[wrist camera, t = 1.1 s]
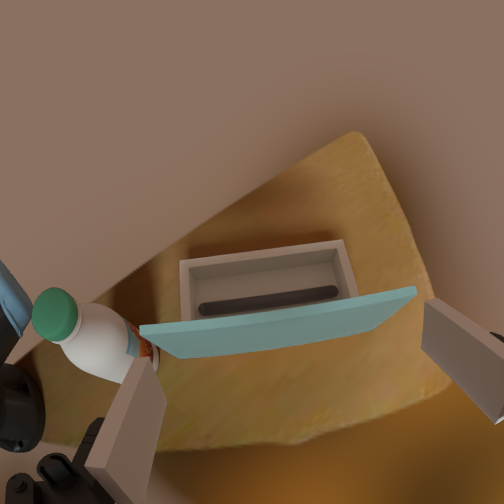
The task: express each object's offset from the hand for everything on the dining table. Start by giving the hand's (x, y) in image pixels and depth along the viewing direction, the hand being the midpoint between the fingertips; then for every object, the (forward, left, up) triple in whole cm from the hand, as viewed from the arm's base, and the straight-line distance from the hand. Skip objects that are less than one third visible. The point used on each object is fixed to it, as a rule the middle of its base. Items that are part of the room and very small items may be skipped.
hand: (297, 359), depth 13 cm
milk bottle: (-19, +3, -26) cm, 33 cm away
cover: (0, +6, -15) cm, 16 cm away
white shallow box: (-1, +12, -26) cm, 29 cm away
